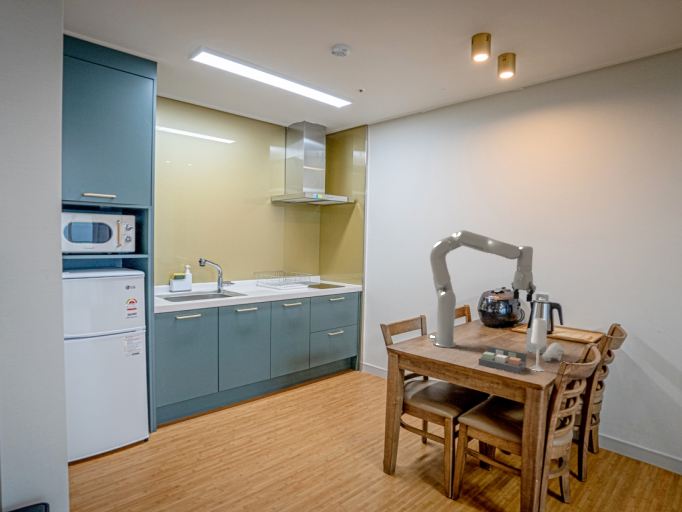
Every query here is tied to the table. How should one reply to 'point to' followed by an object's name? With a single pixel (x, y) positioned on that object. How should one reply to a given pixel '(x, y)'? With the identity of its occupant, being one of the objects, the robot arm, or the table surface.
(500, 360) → the off-white key
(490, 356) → the sage key
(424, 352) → the table surface
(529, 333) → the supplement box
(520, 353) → the keypad
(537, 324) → the champagne flute
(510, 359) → the terracotta key
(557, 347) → the white animal figurine
